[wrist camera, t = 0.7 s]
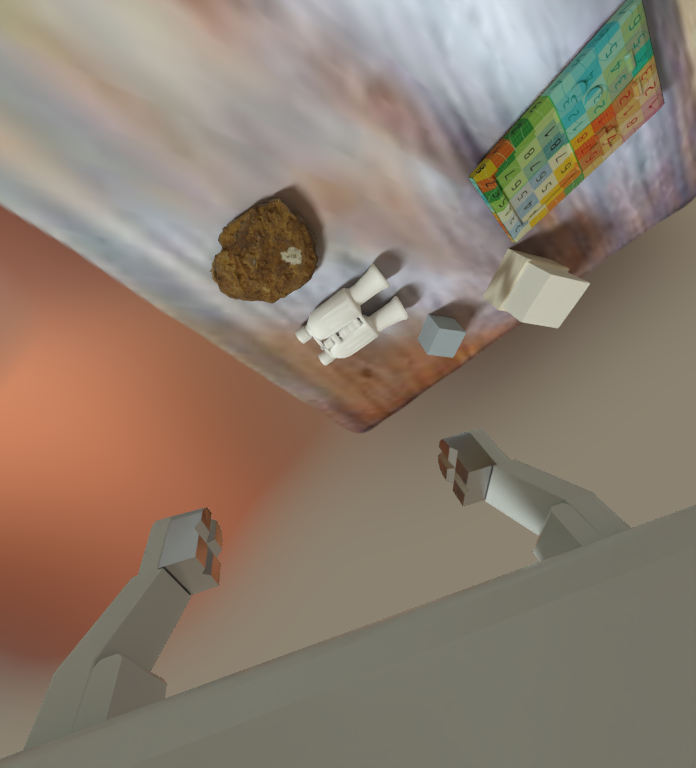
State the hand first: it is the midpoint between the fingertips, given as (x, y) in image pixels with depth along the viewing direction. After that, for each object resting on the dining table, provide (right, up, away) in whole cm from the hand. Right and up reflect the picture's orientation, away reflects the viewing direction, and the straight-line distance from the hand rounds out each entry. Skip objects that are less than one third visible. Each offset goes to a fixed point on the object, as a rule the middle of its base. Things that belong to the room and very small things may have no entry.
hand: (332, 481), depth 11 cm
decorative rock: (-11, +21, +32) cm, 40 cm away
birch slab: (+28, +21, +41) cm, 54 cm away
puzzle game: (+26, +35, +29) cm, 52 cm away
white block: (+29, +18, +37) cm, 50 cm away
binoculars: (+1, +15, +40) cm, 43 cm away
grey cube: (+16, +13, +44) cm, 49 cm away
